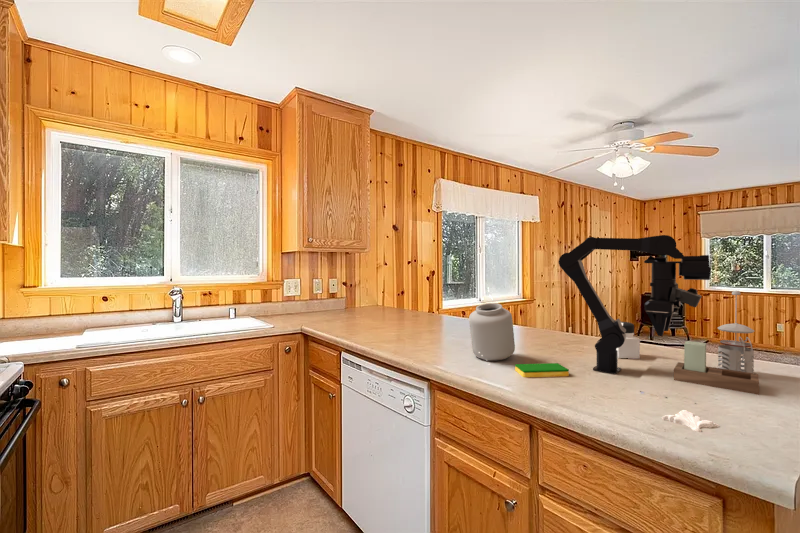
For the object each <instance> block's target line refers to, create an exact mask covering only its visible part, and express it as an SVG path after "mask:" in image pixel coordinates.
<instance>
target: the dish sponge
mask: <svg viewBox="0 0 800 533" xmlns="http://www.w3.org/2000/svg"><path fill="white" fill-rule="evenodd" d="M514 366H515V367H514V370H515V372H517V373H518V374H519V375H520V376H521V377H522V378H552V377H554V378H555V377H569V375H570V370H569V369H568V368H567V367H565V366H563V365H562V364H561V363H558V362H556V363H555V362H551V363H548V362H547V363H517V364H514Z"/></svg>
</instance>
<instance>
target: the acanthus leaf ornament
mask: <svg viewBox="0 0 800 533" xmlns="http://www.w3.org/2000/svg"><path fill="white" fill-rule="evenodd" d="M661 419H662V421H668V422H671V423H674V424H678V425H683V426H686V427H688V428H690V429H691V430H692V431H695V432H699V433H700V432H702V429H701V428H707V427H709V429H711V428H714V427H715V426H717V428H719V427H720V425H719V424H718V423H715V422H713V421H712V420H707V419H704V420H703V419H701V416H699V415H695V416H694V413H693V412H690V411H689V410H686V409H682V410H680V411H679V412H678V413H675V415H674V414H666V415H662V416H661ZM718 426H719V427H718Z"/></svg>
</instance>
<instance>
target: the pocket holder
mask: <svg viewBox="0 0 800 533" xmlns="http://www.w3.org/2000/svg"><path fill="white" fill-rule="evenodd" d="M673 381H677V382H683V383H689V384H695V385H700V386H706V387H711V388H717V389H722V390H727V391H735V392H741V393H746V394H751V395H756V396H757V395H758V396H759V395H760V377H759V373H755V372H754V373H748V372H741V371H734V370H728V369H721V368H718V367H715V366H714V367H713V366H712V367H711V366H707V365H706V373H705V372H699V371H692V370H686V369H684V362H679V361H678V362H677V364H676V365H675V367H674V368H673Z"/></svg>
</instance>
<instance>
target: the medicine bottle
mask: <svg viewBox="0 0 800 533" xmlns="http://www.w3.org/2000/svg"><path fill="white" fill-rule="evenodd" d="M621 324H622V326H623V327H624V328H625V329H626V332H625V333H626V339H625V341H624V344H623V345H622V346H621V347H619V348H617V349H616V350H617V351H618V359H619V358H628V360H629V359H631V360H632V359H633V360H640V359H641V358H640V357H641V352H640V349H641V347H640V346H641V339H640V338H639V337H637V336H635V325H634V323H632V322H629V321H621Z"/></svg>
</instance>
